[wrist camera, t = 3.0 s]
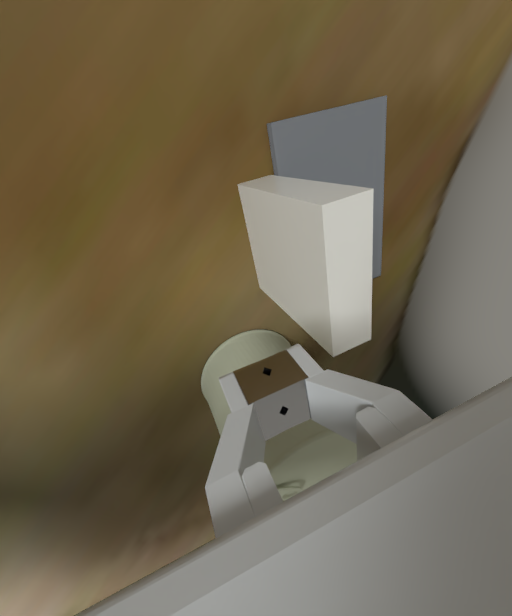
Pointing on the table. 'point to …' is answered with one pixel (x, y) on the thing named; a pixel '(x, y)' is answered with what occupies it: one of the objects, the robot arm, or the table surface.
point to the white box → (314, 254)
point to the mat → (337, 152)
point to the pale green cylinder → (292, 442)
